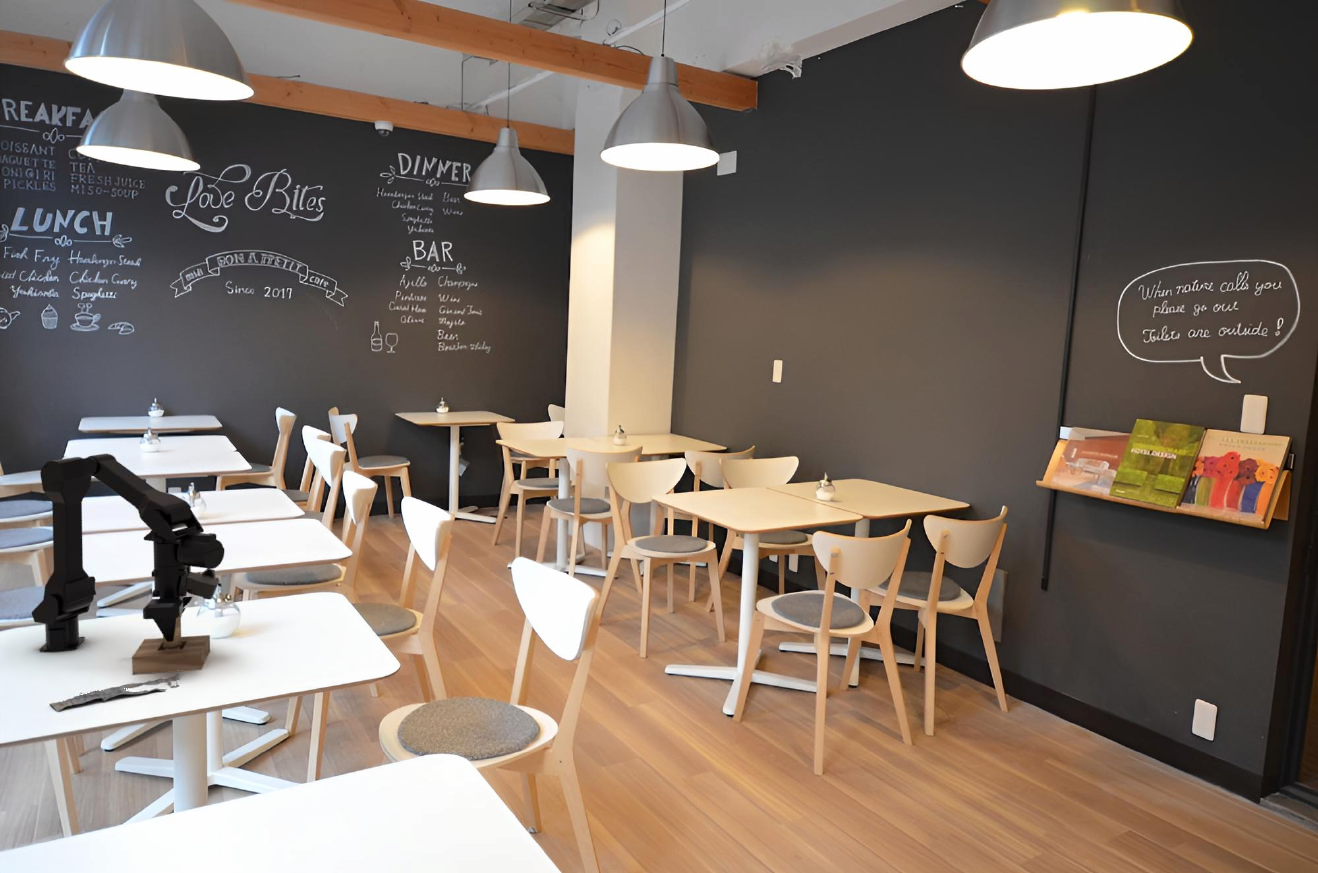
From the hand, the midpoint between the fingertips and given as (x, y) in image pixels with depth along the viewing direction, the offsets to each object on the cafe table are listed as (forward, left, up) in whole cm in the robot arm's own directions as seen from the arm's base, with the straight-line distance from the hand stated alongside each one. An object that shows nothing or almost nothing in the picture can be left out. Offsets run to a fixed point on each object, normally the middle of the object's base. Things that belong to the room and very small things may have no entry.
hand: (172, 638), depth 173 cm
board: (0, 0, -5) cm, 5 cm away
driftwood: (+14, -6, -6) cm, 17 cm away
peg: (0, 0, -5) cm, 5 cm away
